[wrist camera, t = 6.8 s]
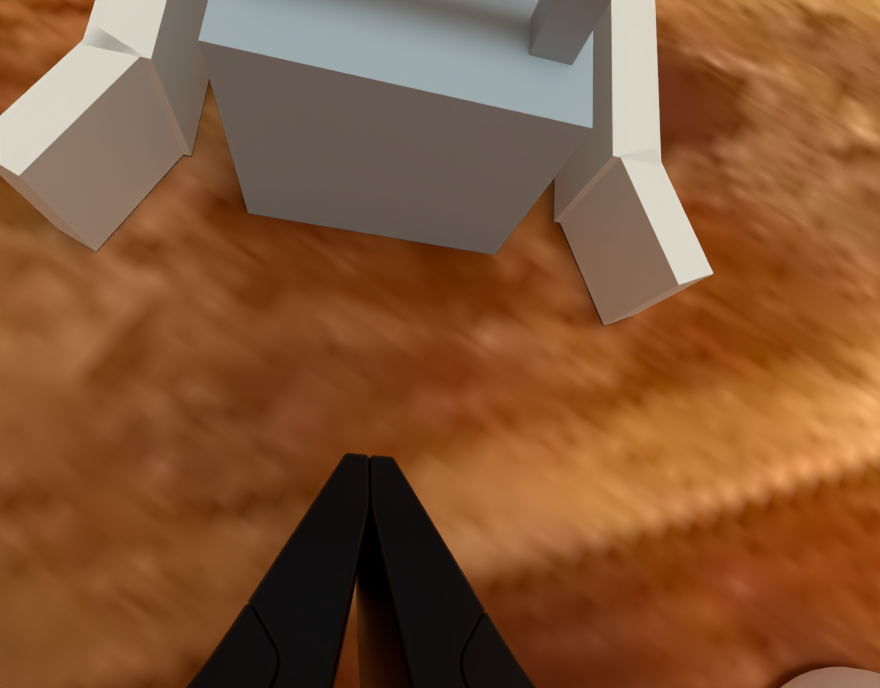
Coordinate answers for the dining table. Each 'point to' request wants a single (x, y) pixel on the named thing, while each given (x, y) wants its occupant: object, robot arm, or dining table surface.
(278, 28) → the box with loop handle
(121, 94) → the bay
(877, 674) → the mug
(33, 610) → the dining table surface
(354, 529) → the robot arm
